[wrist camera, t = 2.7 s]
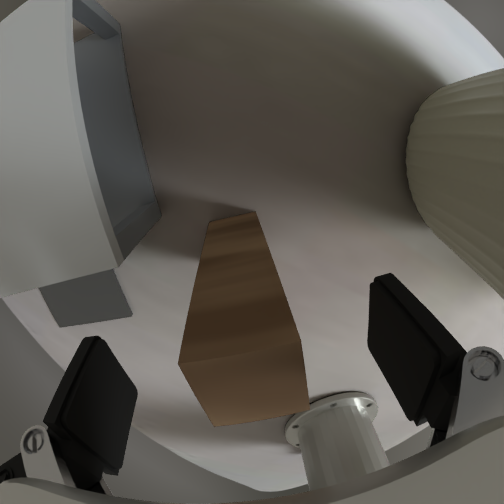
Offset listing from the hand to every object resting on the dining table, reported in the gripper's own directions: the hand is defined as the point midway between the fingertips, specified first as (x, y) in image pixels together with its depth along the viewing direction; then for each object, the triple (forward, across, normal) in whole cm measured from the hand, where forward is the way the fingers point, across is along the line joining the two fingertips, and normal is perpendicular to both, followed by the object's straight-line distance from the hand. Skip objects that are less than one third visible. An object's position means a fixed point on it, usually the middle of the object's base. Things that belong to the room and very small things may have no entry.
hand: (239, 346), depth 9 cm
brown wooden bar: (+12, 0, +1) cm, 13 cm away
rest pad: (+13, +15, +1) cm, 19 cm away
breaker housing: (+13, +11, -10) cm, 20 cm away
